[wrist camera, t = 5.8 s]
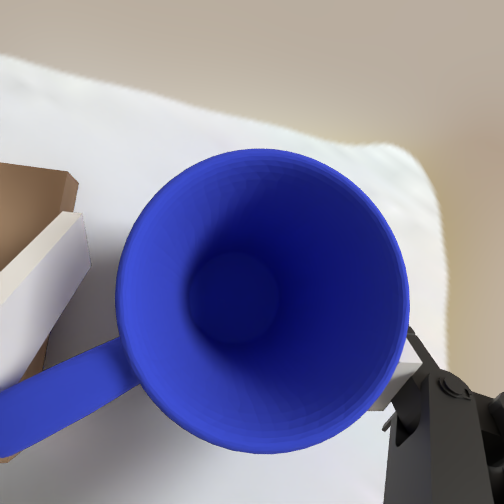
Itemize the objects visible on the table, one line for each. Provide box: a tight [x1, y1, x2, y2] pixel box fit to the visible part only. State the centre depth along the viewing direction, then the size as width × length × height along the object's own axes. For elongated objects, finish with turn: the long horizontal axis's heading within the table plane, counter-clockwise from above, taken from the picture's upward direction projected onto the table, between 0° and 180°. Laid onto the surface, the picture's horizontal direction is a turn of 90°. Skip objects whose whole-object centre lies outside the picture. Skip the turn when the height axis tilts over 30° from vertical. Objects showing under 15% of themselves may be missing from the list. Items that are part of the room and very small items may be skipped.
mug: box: [0, 149, 410, 458], centre depth 12 cm, size 8×12×10 cm
